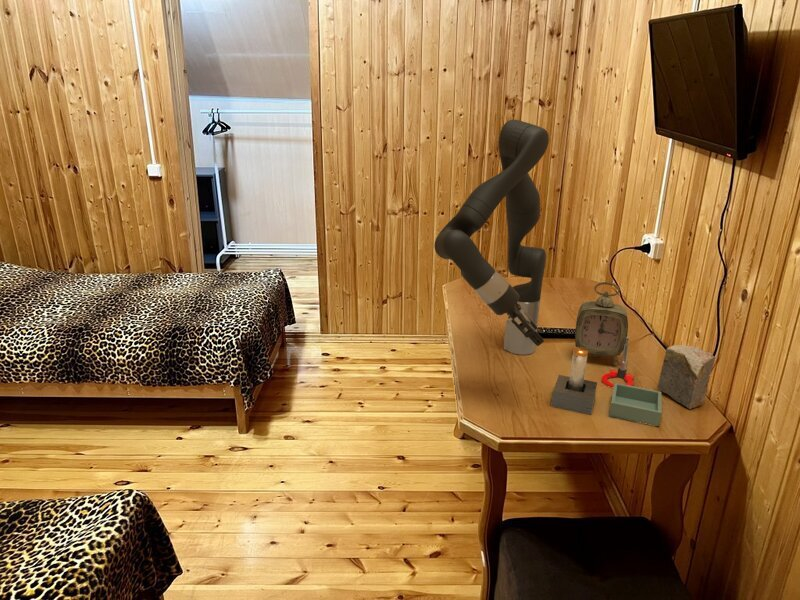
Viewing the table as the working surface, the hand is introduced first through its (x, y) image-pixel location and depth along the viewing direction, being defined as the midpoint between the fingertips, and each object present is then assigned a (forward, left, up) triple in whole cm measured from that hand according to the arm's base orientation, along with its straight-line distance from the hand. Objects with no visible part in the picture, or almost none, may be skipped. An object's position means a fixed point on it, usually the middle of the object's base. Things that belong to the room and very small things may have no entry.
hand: (537, 336), depth 145 cm
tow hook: (+21, +21, -19) cm, 35 cm away
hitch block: (+11, +4, -18) cm, 21 cm away
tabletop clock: (+14, +34, -18) cm, 41 cm away
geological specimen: (+37, +18, -18) cm, 45 cm away
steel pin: (+11, +4, -18) cm, 21 cm away
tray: (+26, +6, -18) cm, 32 cm away
